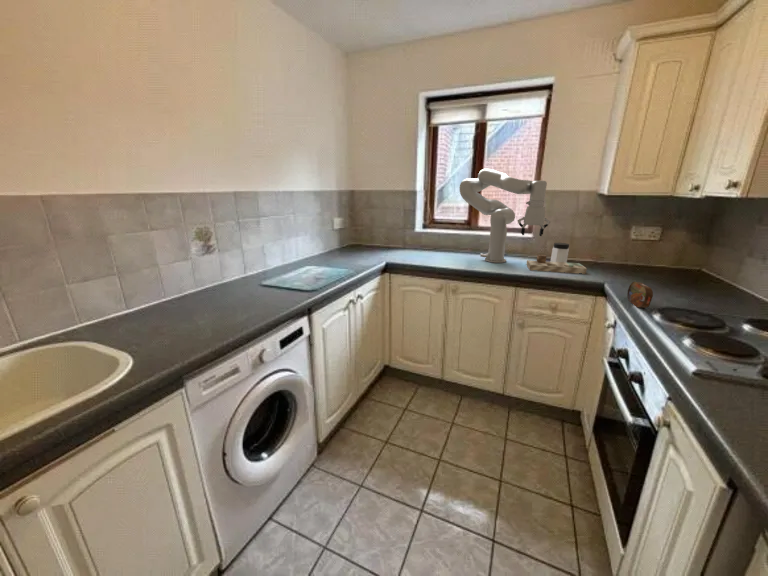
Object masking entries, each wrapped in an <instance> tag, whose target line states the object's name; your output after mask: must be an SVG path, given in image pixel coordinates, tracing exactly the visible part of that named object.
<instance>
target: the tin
mask: <svg viewBox="0 0 768 576" xmlns="http://www.w3.org/2000/svg"><path fill="white" fill-rule="evenodd" d="M626 295H627V296H626V297H627V300H628V302H629V303H630V304H632V305H634V307H636V308H640V309H647V308H648V307H649V306H650V305H651V303H652V299H653V297H654V292H653V289H652V287H650V286H648V285H646V284H644V283H642V282H639V281H632V282H631V283H630V284H629V287H628V290H627V294H626Z"/></svg>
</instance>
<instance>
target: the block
mask: <svg viewBox="0 0 768 576" xmlns="http://www.w3.org/2000/svg"><path fill="white" fill-rule="evenodd" d="M546 260H547V255H546V254H537V257H536V261H537V262H538V263H545V262H546Z"/></svg>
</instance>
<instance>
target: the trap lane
mask: <svg viewBox="0 0 768 576" xmlns="http://www.w3.org/2000/svg"><path fill="white" fill-rule="evenodd" d="M525 263H526V264H525V265H527V266H526V267H527V268H528V270H529V271H533V270H537V271H538V272H549V271H551V273H564V272H565V273H567V274H568V273H569V274H579V273H582V275H585V274H586V273H587V270H588V269H587V267H586V266H584V265H583V264H581V263H579V262H578V263H577V262H567V263H565V262H550V261H546V262H545V263H538V262H537V260H526V262H525ZM537 271H536V272H537ZM586 275H587V274H586Z"/></svg>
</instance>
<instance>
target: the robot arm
mask: <svg viewBox="0 0 768 576" xmlns="http://www.w3.org/2000/svg"><path fill="white" fill-rule="evenodd" d="M547 183H548V181H546V180H528V179H527V180H526V179H518V178H515V177H511V176H508V174H507V173H505V172H501V171H497V170H496V169H493V168H483V169H481V170H480V171H479V173H477V178H473V177H472V178H471V177H470V178H465V179H463V180H462V181H461V182H460V184H459V194H460V196H461V198H462V199H463V200H464V202H466V203H467V204H469V205H470V206H472V207H473V208H474V209H475V210H477V211H478V212H480V213H481V214H482V215H484V216H490V220H489V221H490V230H489V231H490V232H489V243H488V244H489V245H488V252H487V253H480V255H479V256H480V257H481V258H484V261H485V262H488V263H489V262H490V263H493V264H495V263H497V264H503V263H506V262H507V259H506V258H505V251H506V243H507V235H508V234H507V233H508V227H507V225H509V224H511V223H513V222H514V221H515V219H516V213H515V211H514V210H513V209H512V208H511V207H509V206H508V205H506V204H505V203H503V202H501V201H500V200H499V199H495V198H493V199H489V198H487V197H485V196H484V195H482V194H481V193H479V192H481V191H484V190H485V189H487V188H488V187H490V186H492V187H494V188H498V189H500V190H503V191H506V192H510V193H512V194H515V195H529V200H527V201H526V202H525V204H526V205H528V206H526V209H525V213H524V216H522V217H521V218H519V219H517V223H518V225H519V226H520V227H521V230H520V234H521V235H522V236H525V231H526V226H540V229H539V235H538V236H540V237H543V235H544V230H545V229H546V227H548V226H549V224H550V223H551V220H549V219H547V218H546V207H545V206H544V204H545V197H546V194H547V193H546V192H547V186H548V184H547ZM522 221H523V223H522ZM545 222H546V223H545ZM544 223H545V224H544Z"/></svg>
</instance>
